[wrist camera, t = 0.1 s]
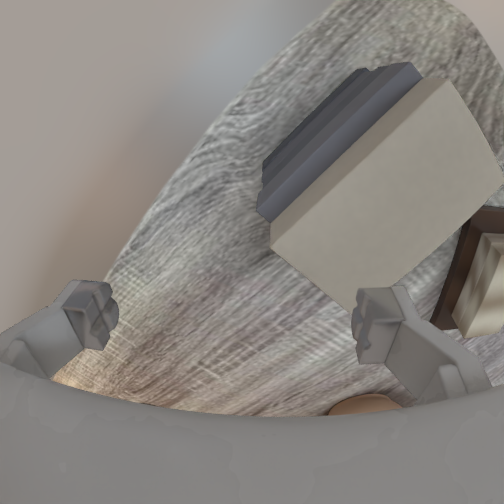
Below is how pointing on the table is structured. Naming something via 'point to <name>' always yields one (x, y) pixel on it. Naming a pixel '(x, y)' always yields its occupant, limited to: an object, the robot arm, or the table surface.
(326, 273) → the white book
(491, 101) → the table surface
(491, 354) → the table surface
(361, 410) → the bowl
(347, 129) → the grey books
